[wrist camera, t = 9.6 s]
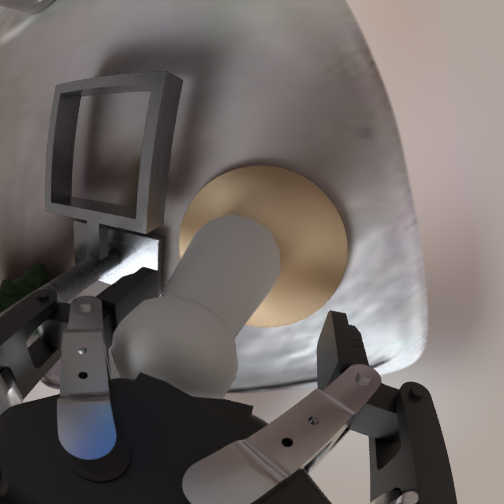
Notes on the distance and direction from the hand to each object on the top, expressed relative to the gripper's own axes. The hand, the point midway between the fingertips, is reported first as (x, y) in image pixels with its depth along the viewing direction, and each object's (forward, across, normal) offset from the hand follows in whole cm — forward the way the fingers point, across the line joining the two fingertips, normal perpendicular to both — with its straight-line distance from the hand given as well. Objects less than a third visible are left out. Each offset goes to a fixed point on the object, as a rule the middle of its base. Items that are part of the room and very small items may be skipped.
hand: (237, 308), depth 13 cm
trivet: (+8, 0, 0) cm, 8 cm away
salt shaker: (+8, +1, 0) cm, 8 cm away
